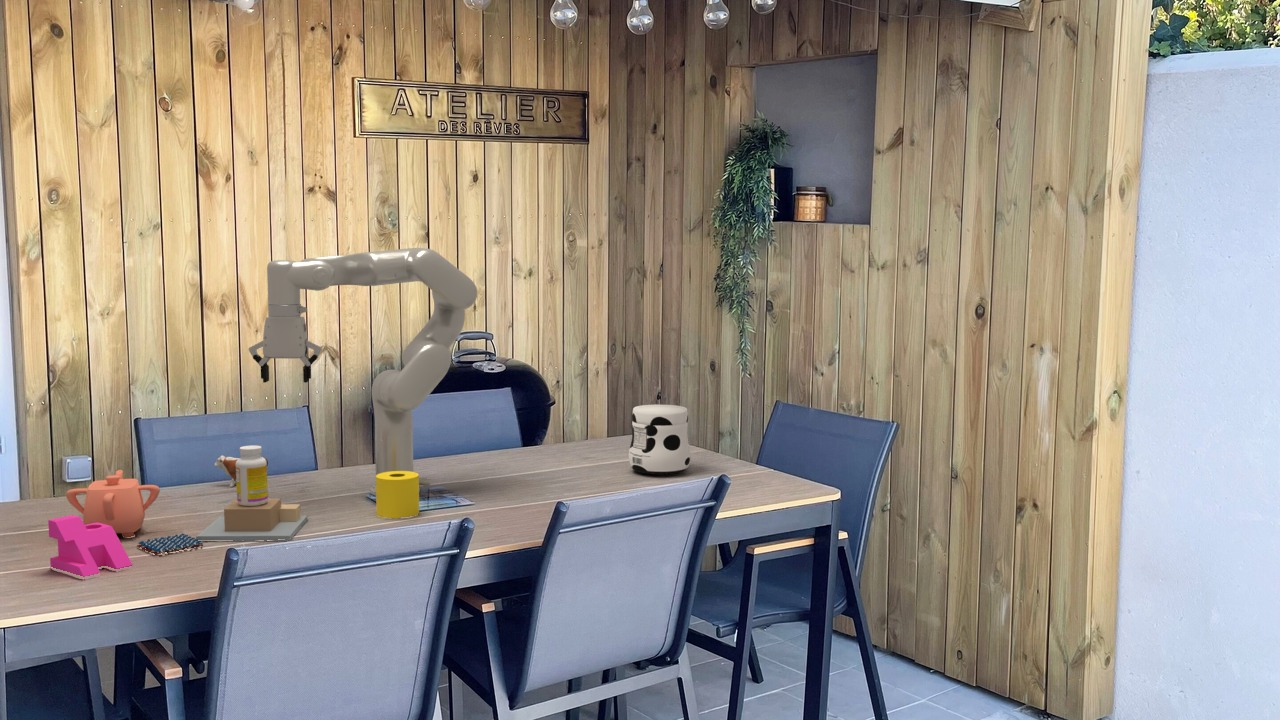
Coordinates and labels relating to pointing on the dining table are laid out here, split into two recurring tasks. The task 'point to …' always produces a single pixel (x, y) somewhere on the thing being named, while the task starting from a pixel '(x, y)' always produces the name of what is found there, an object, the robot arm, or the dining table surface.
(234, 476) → the bull figurine
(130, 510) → the teapot
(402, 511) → the yellow toilet paper roll
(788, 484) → the dining table surface
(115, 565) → the bracket
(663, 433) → the milk container
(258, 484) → the supplement bottle
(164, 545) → the woven mat
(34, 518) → the dining table surface
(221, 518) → the board
